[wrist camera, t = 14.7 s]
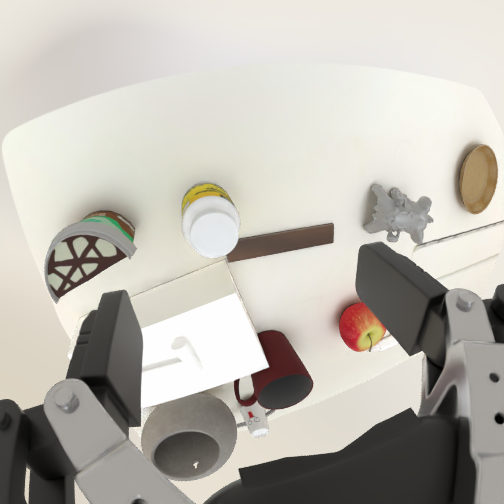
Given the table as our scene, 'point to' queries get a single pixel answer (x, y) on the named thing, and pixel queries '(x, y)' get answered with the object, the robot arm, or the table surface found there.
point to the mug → (278, 375)
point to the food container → (87, 251)
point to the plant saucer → (478, 179)
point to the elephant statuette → (399, 215)
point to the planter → (189, 436)
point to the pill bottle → (210, 220)
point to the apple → (360, 328)
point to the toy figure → (255, 419)
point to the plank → (281, 242)
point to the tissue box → (193, 335)
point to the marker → (384, 344)
